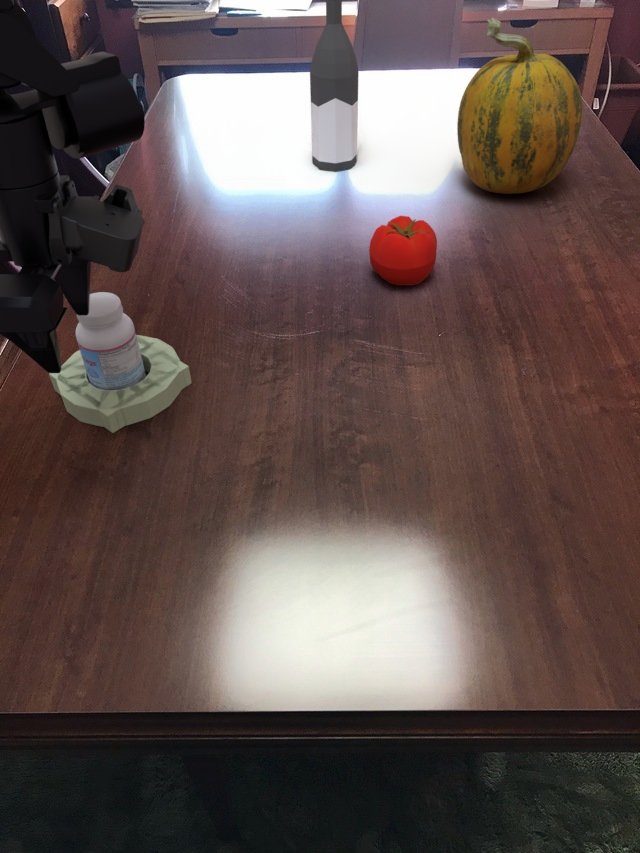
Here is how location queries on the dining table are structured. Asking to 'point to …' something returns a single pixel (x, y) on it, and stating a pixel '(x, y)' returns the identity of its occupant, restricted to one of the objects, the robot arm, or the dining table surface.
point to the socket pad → (126, 403)
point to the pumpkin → (518, 118)
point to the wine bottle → (334, 95)
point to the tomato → (403, 251)
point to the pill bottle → (109, 344)
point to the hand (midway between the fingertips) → (70, 341)
